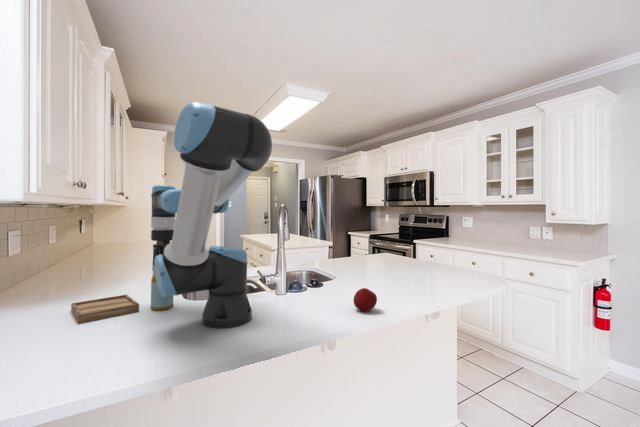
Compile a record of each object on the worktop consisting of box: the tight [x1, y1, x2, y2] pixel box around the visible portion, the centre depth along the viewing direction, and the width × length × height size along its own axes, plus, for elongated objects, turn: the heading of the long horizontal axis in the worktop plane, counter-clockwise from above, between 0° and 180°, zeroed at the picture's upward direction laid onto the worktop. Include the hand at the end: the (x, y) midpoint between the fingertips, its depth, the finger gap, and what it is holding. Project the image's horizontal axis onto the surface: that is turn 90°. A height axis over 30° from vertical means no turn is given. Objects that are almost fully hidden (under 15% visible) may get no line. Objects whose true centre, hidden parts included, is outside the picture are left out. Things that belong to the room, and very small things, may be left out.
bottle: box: [150, 265, 174, 312], centre depth 104 cm, size 7×7×15 cm
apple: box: [353, 287, 378, 313], centre depth 104 cm, size 8×8×8 cm
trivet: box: [71, 294, 140, 325], centre depth 99 cm, size 16×16×3 cm
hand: (162, 293), depth 104 cm, fingers closed on bottle, 7 cm apart
